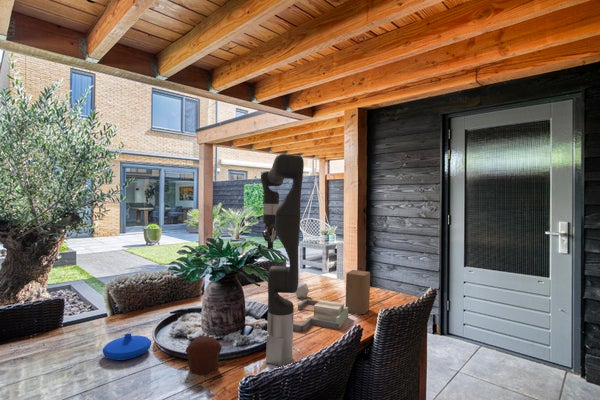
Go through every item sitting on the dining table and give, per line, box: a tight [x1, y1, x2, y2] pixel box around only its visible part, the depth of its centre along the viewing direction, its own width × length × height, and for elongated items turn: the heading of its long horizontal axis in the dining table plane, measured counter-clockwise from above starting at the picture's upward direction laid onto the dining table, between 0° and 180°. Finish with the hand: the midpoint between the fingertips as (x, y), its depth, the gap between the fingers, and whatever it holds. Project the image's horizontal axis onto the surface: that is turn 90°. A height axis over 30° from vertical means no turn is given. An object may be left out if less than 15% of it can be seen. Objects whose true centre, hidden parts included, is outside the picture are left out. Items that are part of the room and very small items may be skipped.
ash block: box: [313, 299, 345, 322], centre depth 159 cm, size 10×12×8 cm
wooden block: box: [344, 269, 371, 315], centre depth 173 cm, size 10×10×20 cm
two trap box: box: [293, 298, 349, 333], centre depth 161 cm, size 36×26×5 cm
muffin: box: [185, 335, 223, 376], centre depth 112 cm, size 12×11×10 cm
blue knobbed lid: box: [102, 333, 152, 361], centre depth 120 cm, size 16×16×7 cm
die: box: [294, 282, 310, 299], centre depth 194 cm, size 8×9×10 cm
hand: (270, 250), depth 157 cm, fingers closed
